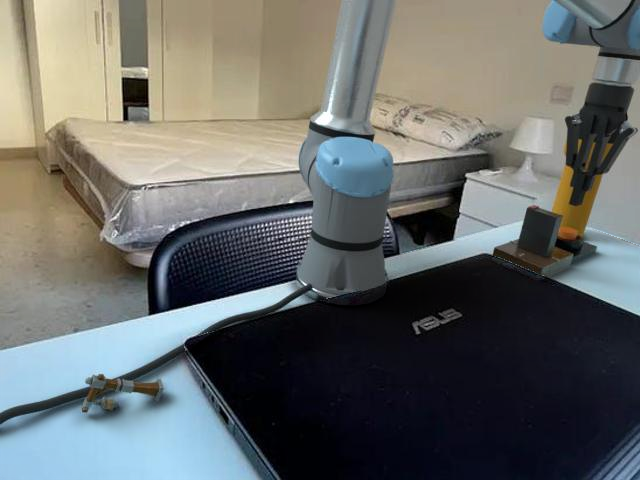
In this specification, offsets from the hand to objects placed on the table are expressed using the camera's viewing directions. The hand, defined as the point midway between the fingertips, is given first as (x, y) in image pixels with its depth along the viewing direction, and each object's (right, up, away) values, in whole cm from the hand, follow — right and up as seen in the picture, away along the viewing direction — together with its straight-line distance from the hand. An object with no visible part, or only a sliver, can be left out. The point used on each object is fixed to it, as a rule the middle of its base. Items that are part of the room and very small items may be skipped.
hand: (575, 204), depth 101 cm
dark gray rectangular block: (-10, -9, -5) cm, 15 cm away
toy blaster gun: (-73, -25, -47) cm, 91 cm away
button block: (-1, -10, +4) cm, 11 cm away
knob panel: (-11, -12, -4) cm, 17 cm away
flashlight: (+5, -6, +14) cm, 16 cm away
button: (0, -7, +3) cm, 7 cm away
